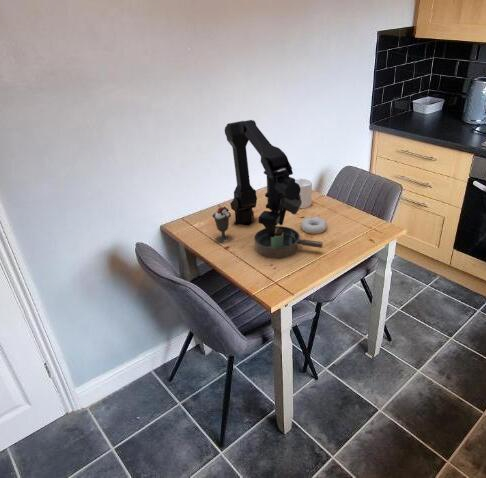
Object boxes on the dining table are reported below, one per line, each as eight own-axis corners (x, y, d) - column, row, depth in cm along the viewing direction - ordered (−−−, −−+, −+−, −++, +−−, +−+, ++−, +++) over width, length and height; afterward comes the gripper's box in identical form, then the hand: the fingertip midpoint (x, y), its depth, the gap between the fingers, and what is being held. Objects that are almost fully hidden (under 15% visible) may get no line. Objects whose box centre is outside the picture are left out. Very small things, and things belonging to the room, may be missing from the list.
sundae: (218, 245, 156) (214, 208, 149) (212, 237, 161) (208, 201, 154) (235, 241, 159) (232, 204, 151) (228, 233, 164) (225, 197, 156)
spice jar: (269, 248, 153) (268, 232, 149) (273, 242, 156) (272, 226, 153) (281, 250, 151) (281, 234, 148) (285, 244, 155) (285, 228, 152)
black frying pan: (248, 255, 150) (247, 244, 147) (264, 234, 163) (263, 223, 161) (292, 263, 145) (292, 251, 143) (305, 240, 158) (305, 229, 156)
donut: (298, 234, 162) (325, 236, 160) (298, 226, 160) (325, 228, 159) (303, 222, 171) (328, 224, 169) (303, 214, 169) (328, 216, 167)
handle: (297, 245, 150) (297, 240, 149) (299, 242, 151) (299, 237, 150) (321, 249, 147) (321, 244, 146) (322, 246, 149) (322, 241, 148)
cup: (314, 206, 183) (315, 184, 178) (289, 211, 179) (288, 189, 174) (306, 198, 190) (306, 177, 185) (281, 204, 186) (280, 182, 181)
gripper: (290, 204, 133) (290, 247, 141) (306, 181, 148) (306, 221, 156) (256, 199, 136) (259, 242, 144) (276, 178, 151) (277, 217, 159)
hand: (276, 230), depth 151 cm, fingers open, 9 cm apart
